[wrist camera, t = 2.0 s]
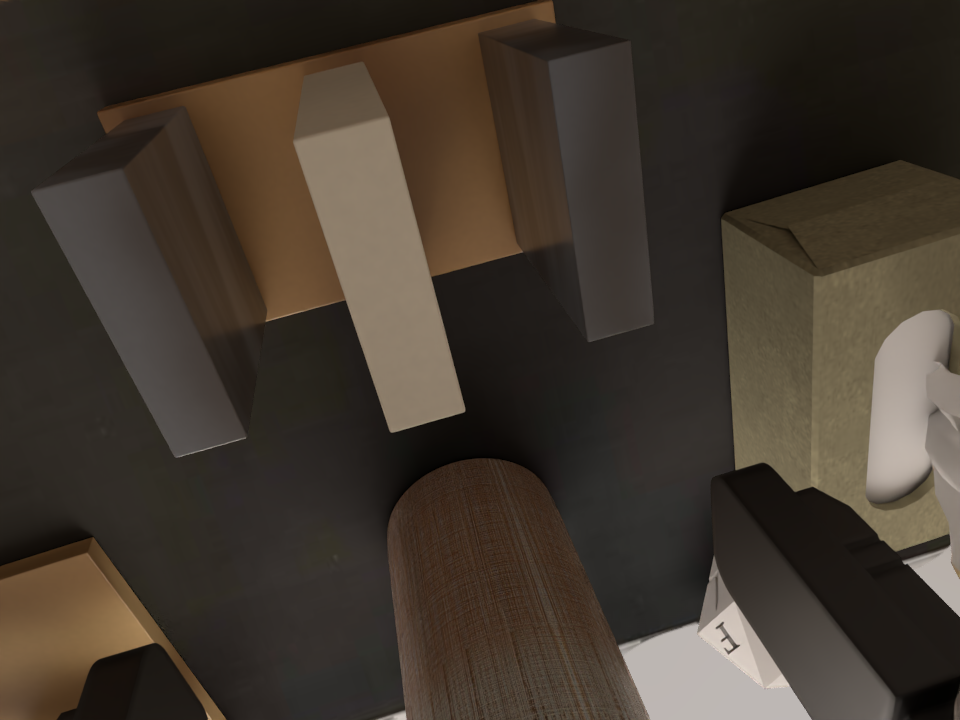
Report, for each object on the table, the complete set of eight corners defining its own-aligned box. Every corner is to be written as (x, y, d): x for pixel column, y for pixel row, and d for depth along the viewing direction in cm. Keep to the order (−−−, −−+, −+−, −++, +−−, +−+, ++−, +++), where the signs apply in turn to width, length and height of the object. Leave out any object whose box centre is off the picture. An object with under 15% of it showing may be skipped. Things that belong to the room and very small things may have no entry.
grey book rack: (205, 328, 33) (157, 477, 23) (103, 106, 28) (-14, 180, 18) (576, 227, 34) (678, 330, 24) (544, -2, 29) (657, 12, 19)
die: (751, 488, 46) (724, 625, 39) (886, 552, 44) (884, 704, 38) (695, 548, 52) (665, 675, 45) (813, 606, 51) (799, 745, 44)
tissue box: (718, 207, 35) (973, 360, 21) (901, 152, 35) (1266, 266, 22) (735, 489, 44) (917, 719, 31) (878, 442, 45) (1121, 648, 31)
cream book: (368, 284, 32) (390, 434, 22) (303, 75, 27) (292, 140, 17) (419, 270, 32) (466, 412, 22) (363, 60, 27) (389, 115, 17)
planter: (350, 517, 39) (378, 1053, 20) (500, 423, 38) (687, 892, 19) (445, 611, 44) (543, 1113, 25) (581, 530, 43) (794, 987, 24)
